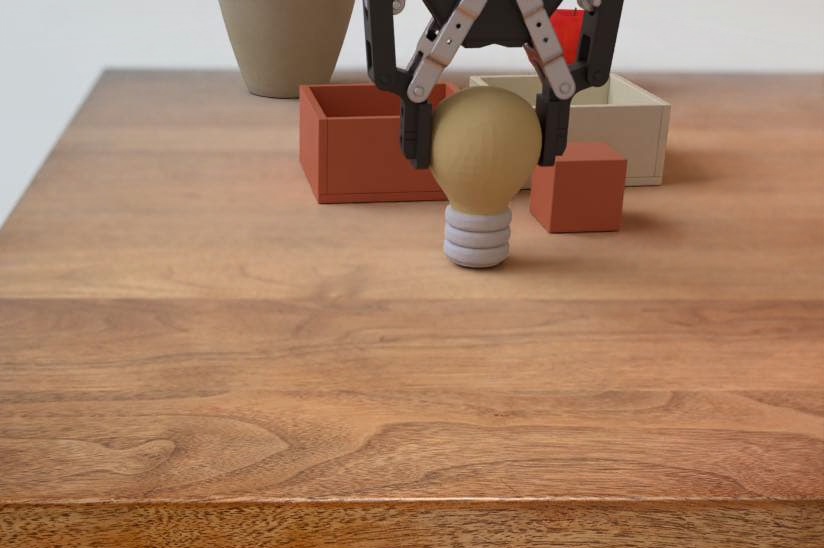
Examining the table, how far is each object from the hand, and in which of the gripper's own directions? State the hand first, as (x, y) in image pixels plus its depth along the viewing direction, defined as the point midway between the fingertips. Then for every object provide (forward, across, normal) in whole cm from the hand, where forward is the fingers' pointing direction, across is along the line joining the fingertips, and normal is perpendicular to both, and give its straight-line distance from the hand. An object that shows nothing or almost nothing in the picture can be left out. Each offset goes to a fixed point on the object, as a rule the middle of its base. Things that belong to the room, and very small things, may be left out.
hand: (481, 164), depth 70 cm
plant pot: (+6, -6, +49) cm, 50 cm away
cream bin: (+6, +11, +20) cm, 24 cm away
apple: (+6, +20, +47) cm, 51 cm away
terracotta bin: (+6, -2, +18) cm, 19 cm away
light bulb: (+6, 0, 0) cm, 6 cm away
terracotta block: (+6, +8, +7) cm, 12 cm away
